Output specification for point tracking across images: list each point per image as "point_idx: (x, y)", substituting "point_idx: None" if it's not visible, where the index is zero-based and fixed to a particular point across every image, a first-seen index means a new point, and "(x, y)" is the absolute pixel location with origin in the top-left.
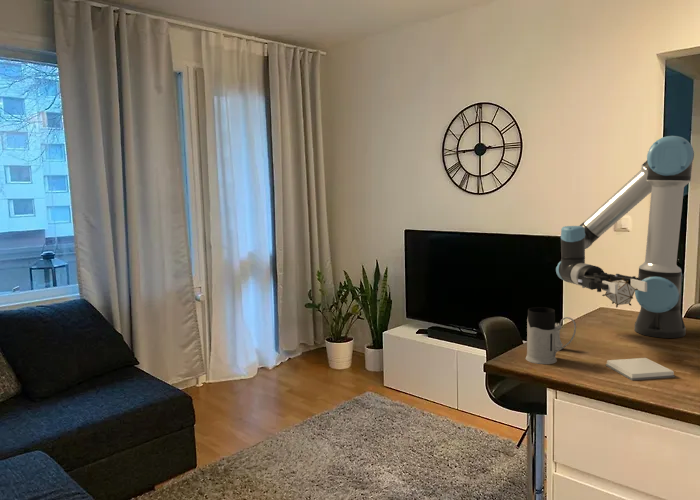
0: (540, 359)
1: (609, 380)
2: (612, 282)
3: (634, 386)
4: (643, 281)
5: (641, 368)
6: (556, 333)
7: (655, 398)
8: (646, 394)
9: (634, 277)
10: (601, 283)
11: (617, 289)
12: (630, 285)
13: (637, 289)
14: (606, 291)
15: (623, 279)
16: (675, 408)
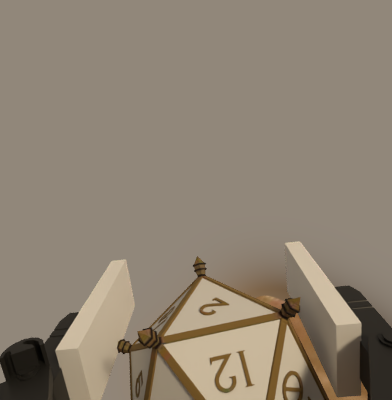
0: None
1: (363, 397)
2: (277, 310)
3: (311, 363)
4: (104, 275)
5: None
6: None
7: (292, 322)
8: (301, 334)
9: (36, 343)
10: (371, 323)
11: (287, 269)
12: (171, 305)
13: (122, 342)
14: (324, 391)
15: (152, 336)
16: (278, 299)
